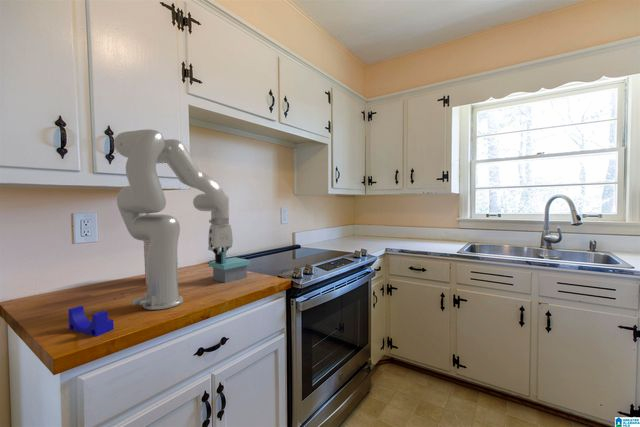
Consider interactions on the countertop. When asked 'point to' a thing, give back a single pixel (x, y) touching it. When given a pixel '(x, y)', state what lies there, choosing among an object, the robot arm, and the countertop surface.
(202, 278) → the countertop surface
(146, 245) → the cracker box
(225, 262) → the lid
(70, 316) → the cable clip
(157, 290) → the robot arm
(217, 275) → the tub
